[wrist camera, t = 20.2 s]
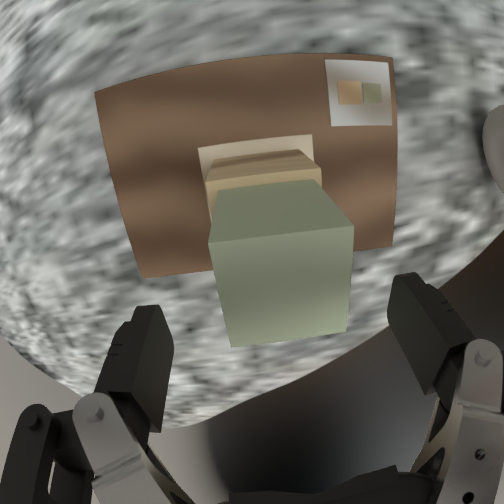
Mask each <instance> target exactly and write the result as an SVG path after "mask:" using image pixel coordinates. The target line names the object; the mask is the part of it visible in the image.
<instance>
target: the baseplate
mask: <svg viewBox="0 0 504 504" xmlns="http://www.w3.org/2000/svg"><path fill="white" fill-rule="evenodd" d="M94 93H95V99H96V105H97V111H98V116H99V122H100V127H101V132H102V137H103V142H104V146H105V151H106V155H107V160H108V164H109V168H110V172H111V176H112V180H113V184H114V188H115V192H116V195H117V199H118V203H119V206H120V210H121V213H122V217H123V220H124V224H125V227H126V230H127V233H128V237H129V240H130V243H131V246H132V249H133V252H134V255H135V258H136V261H137V264H138V267H139V270H140V273H141V276H142V278H151V277H159V276H168V275H176V274H184V273H193V272H201V271H209V270H213V265H212V260H211V256H210V251H209V246H208V240H209V235H210V229H211V224H212V216H211V211H210V206H209V200H208V195H207V189H206V184H205V181H206V178H207V176H208V173H209V171H210V168H211V165H212V163H213V160H214V159H220V158H226V157H234V156H241V155H248V154H257V153H265V152H274V151H284V150H294V149H299V150H301V151H302V152H303V153H304V154H305V155H307V156H308V157H309V158H310V159H311V160H312V161H314V162H315V163H316V164H317V165H318V166H319V167H320V168H321V176H322V189H323V190H324V191H325V192H326V193H327V194H328V195H329V197H330V198H331V199H332V200H333V201H334V202H335V204H336V205H337V206H338V207H339V208H340V209H341V211H342V212H343V213H344V214H345V215H346V216H347V218H348V219H349V220H350V221H351V223H352V224H353V225H354V241H353V252H354V251H361V250H368V249H375V248H382V247H389V246H392V241H393V231H394V220H395V206H396V189H397V108H396V91H395V78H394V68H393V58H392V57H384V56H373V55H360V54H337V53H302V54H279V55H265V56H254V57H245V58H236V59H229V60H222V61H215V62H209V63H203V64H198V65H192V66H187V67H182V68H178V69H173V70H169V71H164V72H160V73H156V74H152V75H148V76H145V77H141V78H137V79H134V80H130V81H127V82H124V83H121V84H117V85H114V86H111V87H108V88H105V89H102V90H99V91H96V92H94Z"/></svg>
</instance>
